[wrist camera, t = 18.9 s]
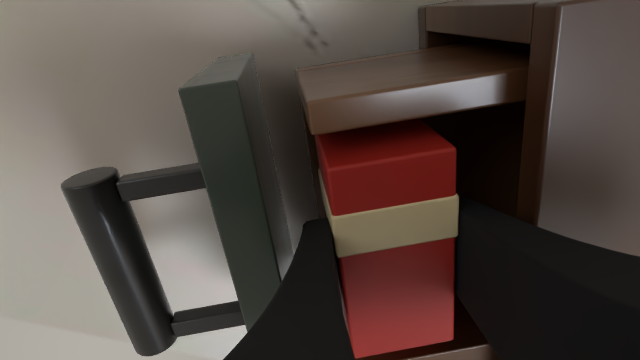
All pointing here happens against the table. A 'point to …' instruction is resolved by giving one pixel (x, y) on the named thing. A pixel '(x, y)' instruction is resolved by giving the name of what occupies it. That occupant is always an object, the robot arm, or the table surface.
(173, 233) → the table surface
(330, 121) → the drawer
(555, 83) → the cabinet
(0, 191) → the table surface
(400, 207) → the red rectangular block
